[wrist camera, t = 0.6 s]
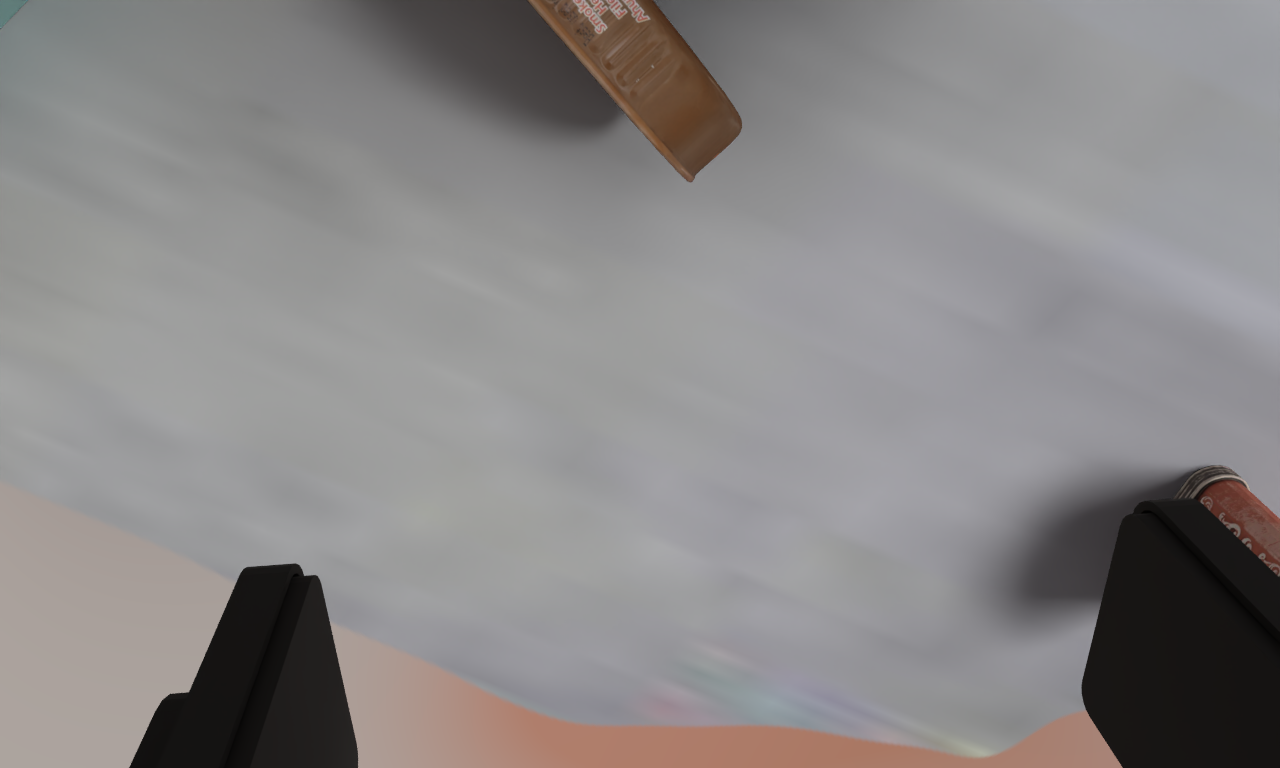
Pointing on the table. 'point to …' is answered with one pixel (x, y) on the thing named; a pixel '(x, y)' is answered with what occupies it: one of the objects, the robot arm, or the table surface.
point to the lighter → (1237, 510)
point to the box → (9, 9)
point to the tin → (648, 76)
